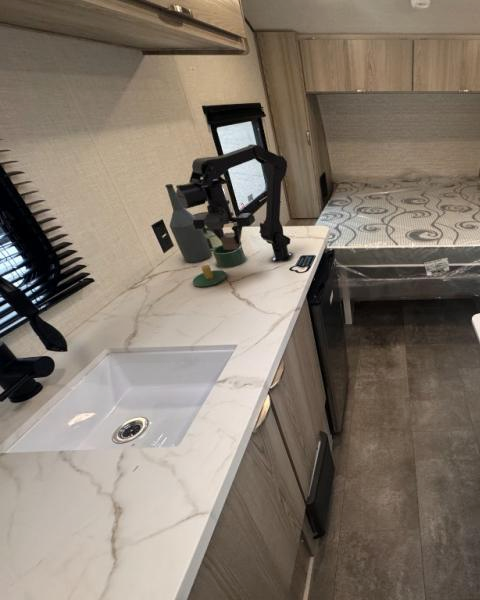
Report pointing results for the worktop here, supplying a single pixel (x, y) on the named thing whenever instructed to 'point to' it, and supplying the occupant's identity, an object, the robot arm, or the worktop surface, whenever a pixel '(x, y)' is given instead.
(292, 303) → the worktop surface
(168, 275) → the worktop surface
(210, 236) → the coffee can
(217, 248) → the tin
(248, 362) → the worktop surface
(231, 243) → the block
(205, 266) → the lid
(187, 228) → the bottle
